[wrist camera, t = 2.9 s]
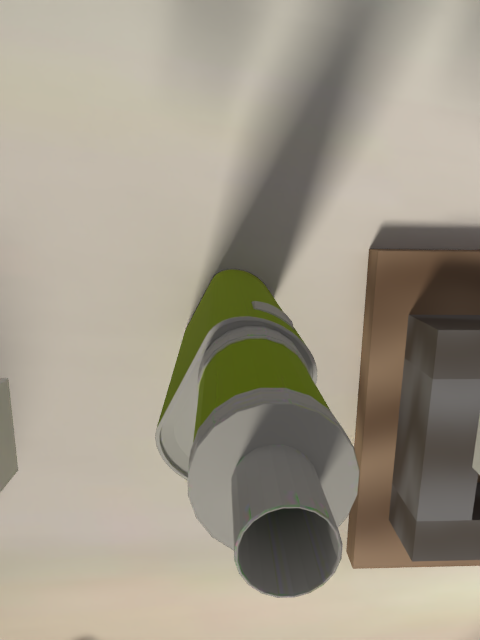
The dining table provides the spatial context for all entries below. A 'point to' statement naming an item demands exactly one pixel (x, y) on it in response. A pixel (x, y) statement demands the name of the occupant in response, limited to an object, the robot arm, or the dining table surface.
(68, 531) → the dining table surface
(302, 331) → the dining table surface
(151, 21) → the dining table surface
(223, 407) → the vape
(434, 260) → the charging dock
